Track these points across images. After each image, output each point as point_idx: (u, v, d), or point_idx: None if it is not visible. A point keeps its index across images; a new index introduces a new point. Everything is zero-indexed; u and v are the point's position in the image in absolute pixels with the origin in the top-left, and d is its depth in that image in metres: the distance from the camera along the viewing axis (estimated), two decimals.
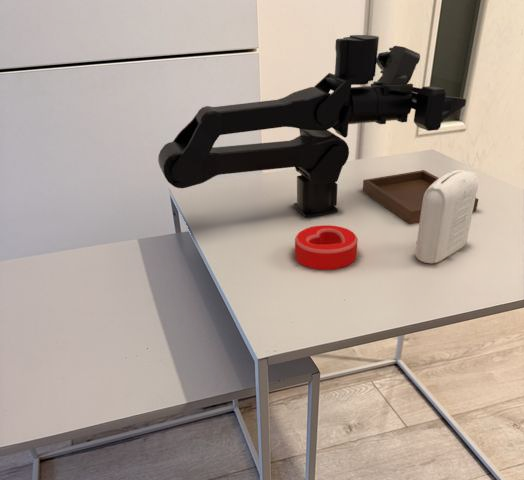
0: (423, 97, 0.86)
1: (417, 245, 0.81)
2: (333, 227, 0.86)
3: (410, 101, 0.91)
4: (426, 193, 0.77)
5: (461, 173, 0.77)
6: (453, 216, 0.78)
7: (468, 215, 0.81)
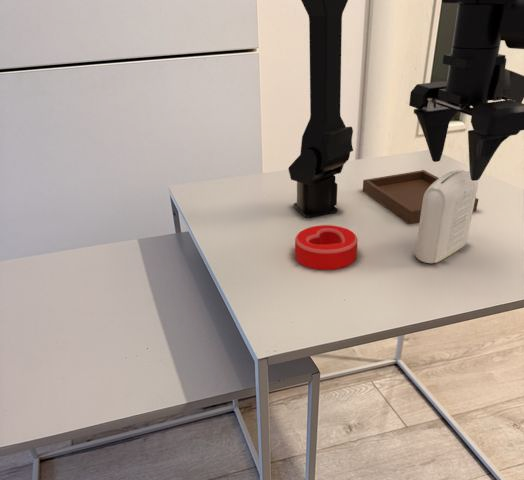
0: (517, 103, 0.66)
1: (417, 245, 0.81)
2: (333, 227, 0.86)
3: (483, 101, 0.69)
4: (426, 193, 0.77)
5: (461, 173, 0.77)
6: (453, 216, 0.78)
7: (468, 215, 0.81)
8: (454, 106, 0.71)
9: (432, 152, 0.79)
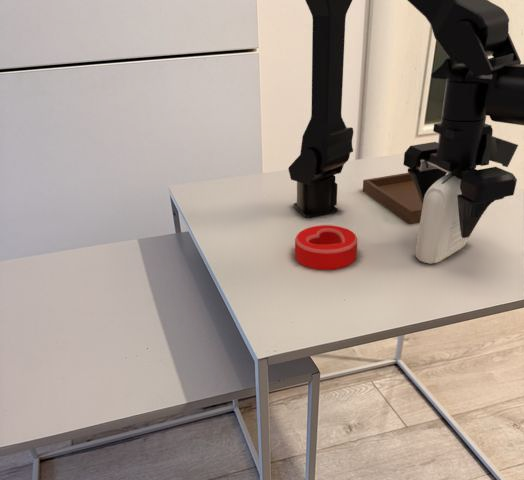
0: (503, 170, 0.70)
1: (417, 245, 0.81)
2: (333, 227, 0.86)
3: (472, 167, 0.74)
4: (427, 193, 0.76)
5: None
6: (454, 216, 0.78)
7: None
8: (445, 170, 0.76)
9: None
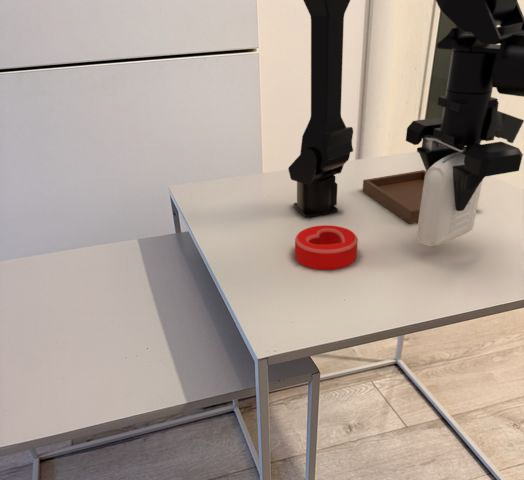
0: (508, 145, 0.68)
1: (418, 227, 0.80)
2: (333, 227, 0.86)
3: (476, 142, 0.72)
4: (427, 172, 0.75)
5: None
6: None
7: (473, 198, 0.79)
8: (457, 149, 0.73)
9: None
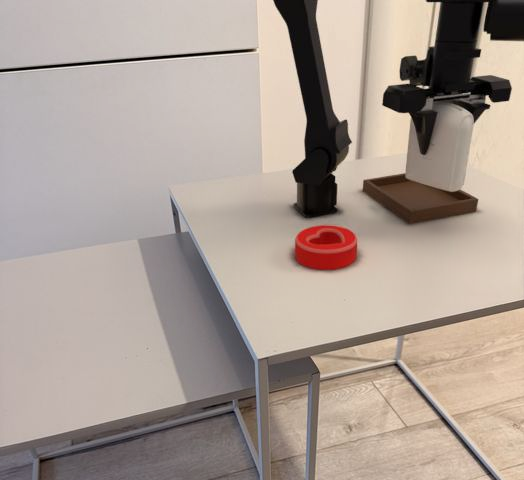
0: (484, 76, 0.82)
1: (451, 179, 0.83)
2: (333, 227, 0.86)
3: None
4: (461, 123, 0.79)
5: None
6: None
7: None
8: (465, 93, 0.79)
9: (428, 146, 0.83)
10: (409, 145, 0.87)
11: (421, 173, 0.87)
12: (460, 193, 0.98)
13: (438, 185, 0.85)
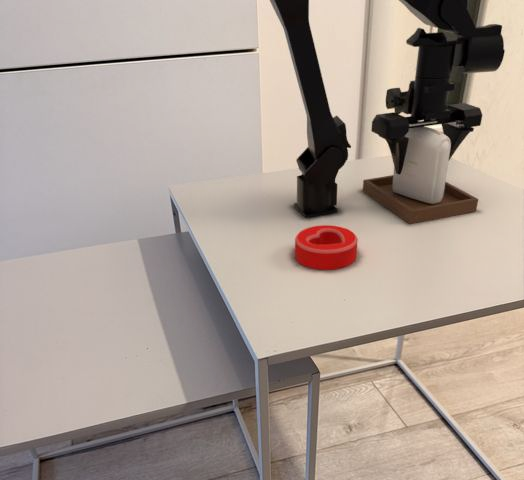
0: (458, 104, 0.95)
1: (432, 193, 0.96)
2: (333, 227, 0.86)
3: None
4: (439, 146, 0.91)
5: None
6: None
7: None
8: (432, 122, 0.92)
9: (402, 167, 0.95)
10: None
11: (406, 187, 1.00)
12: (460, 193, 0.98)
13: (420, 198, 0.98)
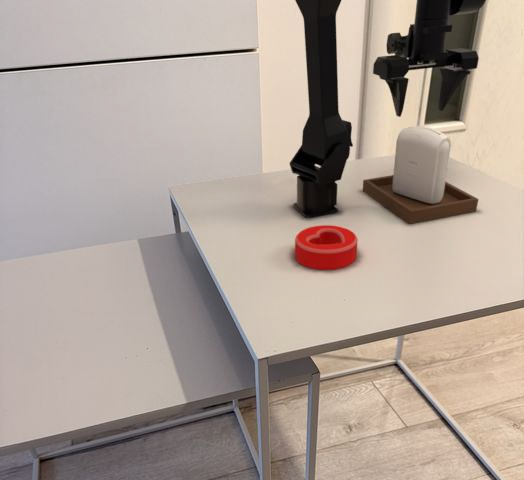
0: (456, 49, 1.00)
1: (432, 193, 0.96)
2: (333, 227, 0.86)
3: None
4: (439, 146, 0.91)
5: None
6: None
7: None
8: (431, 63, 0.96)
9: (402, 109, 1.00)
10: (395, 163, 1.00)
11: (406, 187, 1.00)
12: (460, 193, 0.98)
13: (420, 198, 0.98)
